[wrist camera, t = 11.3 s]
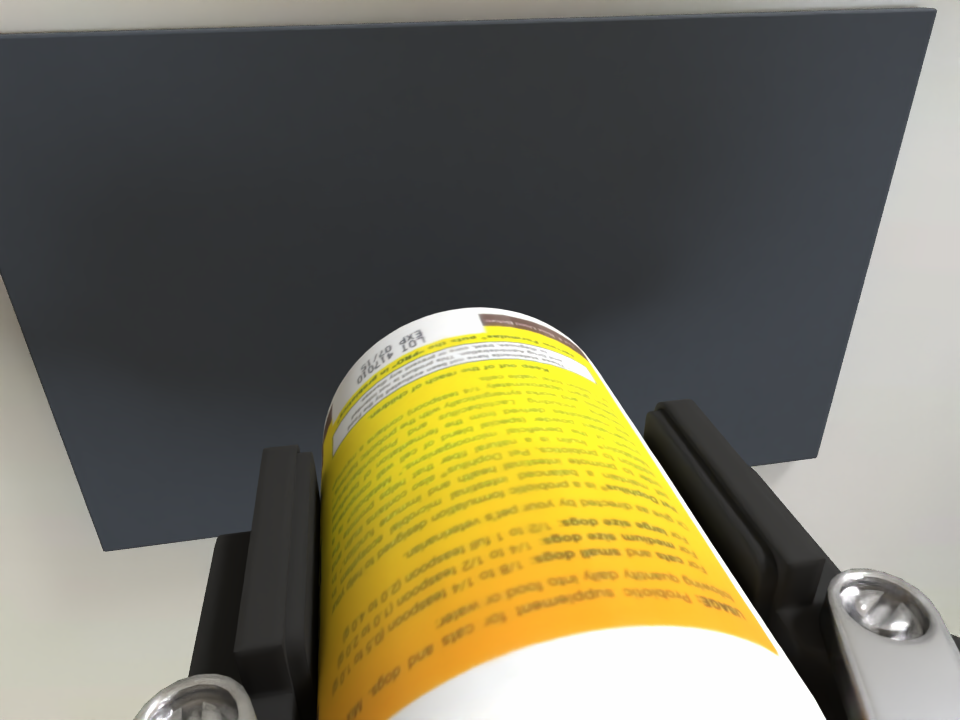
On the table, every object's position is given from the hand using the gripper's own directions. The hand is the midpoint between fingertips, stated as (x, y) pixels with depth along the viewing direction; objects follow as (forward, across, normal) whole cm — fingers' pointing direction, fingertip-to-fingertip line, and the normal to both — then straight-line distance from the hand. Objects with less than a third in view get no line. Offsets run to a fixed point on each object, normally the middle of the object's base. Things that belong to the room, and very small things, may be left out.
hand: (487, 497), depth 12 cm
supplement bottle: (+3, 0, 0) cm, 3 cm away
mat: (+6, -1, -1) cm, 6 cm away
